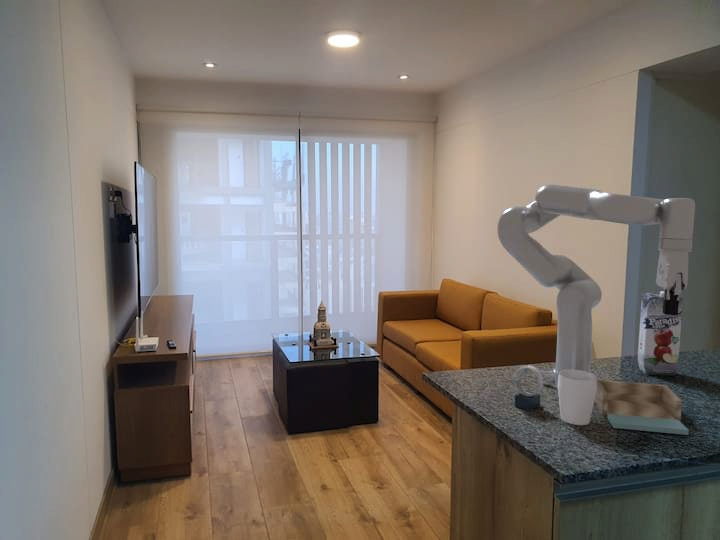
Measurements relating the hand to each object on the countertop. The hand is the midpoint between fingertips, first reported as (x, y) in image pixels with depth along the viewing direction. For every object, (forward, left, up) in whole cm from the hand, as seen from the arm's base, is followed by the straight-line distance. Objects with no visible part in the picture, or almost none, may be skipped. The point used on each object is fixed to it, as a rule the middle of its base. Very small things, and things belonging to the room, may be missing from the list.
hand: (670, 314), depth 141 cm
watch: (-36, -10, -25) cm, 45 cm away
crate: (-9, -7, -25) cm, 28 cm away
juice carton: (+7, +32, -25) cm, 41 cm away
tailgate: (-9, -15, -25) cm, 30 cm away
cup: (-25, -18, -25) cm, 40 cm away
